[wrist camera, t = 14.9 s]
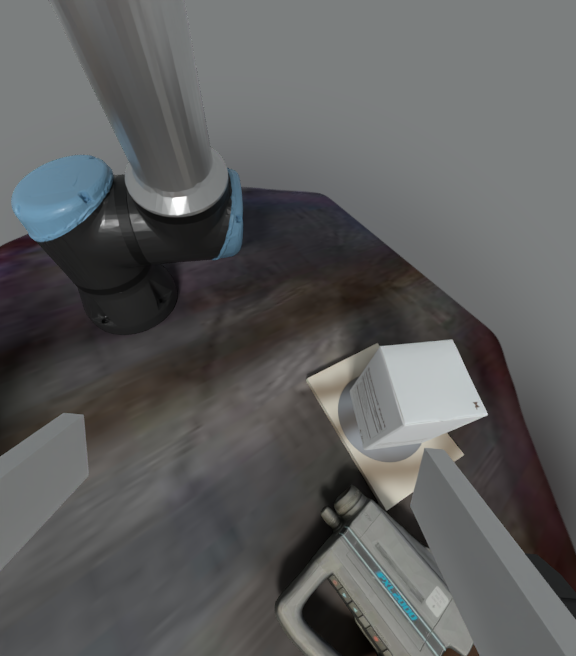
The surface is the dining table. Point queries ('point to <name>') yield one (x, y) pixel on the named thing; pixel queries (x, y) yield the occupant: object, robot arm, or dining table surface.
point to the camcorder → (376, 586)
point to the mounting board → (375, 465)
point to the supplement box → (413, 394)
